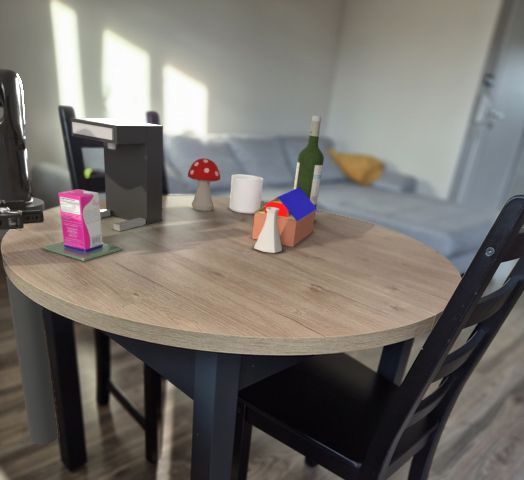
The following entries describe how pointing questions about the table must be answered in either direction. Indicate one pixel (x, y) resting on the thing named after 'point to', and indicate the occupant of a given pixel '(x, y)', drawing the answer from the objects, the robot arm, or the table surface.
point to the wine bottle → (310, 164)
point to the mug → (245, 193)
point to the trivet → (82, 255)
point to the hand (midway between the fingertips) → (33, 211)
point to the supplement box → (81, 220)
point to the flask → (269, 233)
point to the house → (288, 217)
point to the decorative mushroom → (203, 182)
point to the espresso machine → (128, 167)
